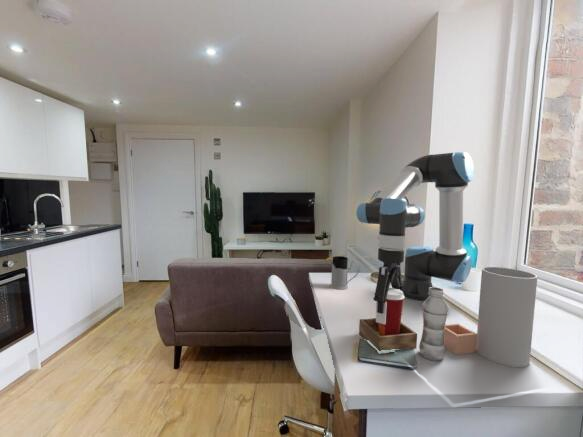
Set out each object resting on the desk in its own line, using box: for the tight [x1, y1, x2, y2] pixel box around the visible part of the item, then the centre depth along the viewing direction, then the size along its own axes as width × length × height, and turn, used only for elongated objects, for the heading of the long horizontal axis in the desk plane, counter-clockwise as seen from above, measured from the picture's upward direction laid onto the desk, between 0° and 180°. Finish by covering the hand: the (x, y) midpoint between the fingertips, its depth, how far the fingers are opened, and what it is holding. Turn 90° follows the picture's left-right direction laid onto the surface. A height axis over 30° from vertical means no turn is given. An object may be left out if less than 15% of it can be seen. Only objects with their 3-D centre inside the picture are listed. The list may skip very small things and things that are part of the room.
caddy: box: [358, 317, 418, 351], centre depth 89 cm, size 12×12×5 cm
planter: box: [444, 323, 477, 355], centre depth 86 cm, size 7×7×6 cm
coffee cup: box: [379, 287, 406, 336], centre depth 90 cm, size 8×8×15 cm
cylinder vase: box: [476, 266, 538, 368], centre depth 81 cm, size 12×12×25 cm
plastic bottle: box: [418, 286, 449, 362], centre depth 80 cm, size 6×7×20 cm
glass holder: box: [329, 255, 361, 291], centre depth 142 cm, size 9×14×15 cm, turn 82°
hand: (387, 315), depth 89 cm, fingers open, 13 cm apart
